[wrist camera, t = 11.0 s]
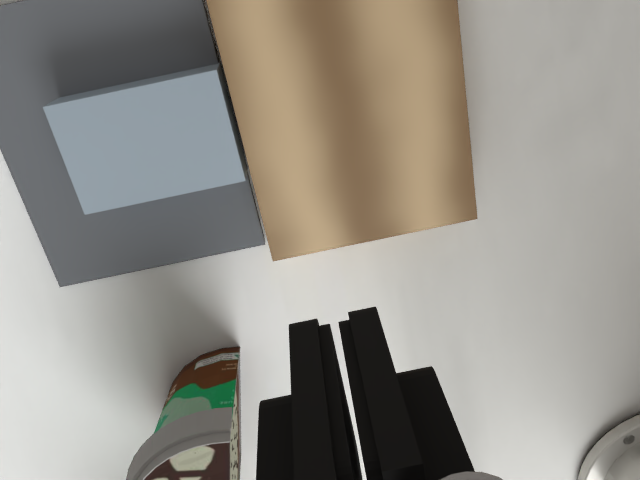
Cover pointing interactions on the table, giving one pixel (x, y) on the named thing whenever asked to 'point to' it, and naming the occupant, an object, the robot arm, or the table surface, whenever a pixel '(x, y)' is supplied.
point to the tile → (149, 139)
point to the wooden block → (349, 117)
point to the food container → (197, 424)
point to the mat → (91, 74)
